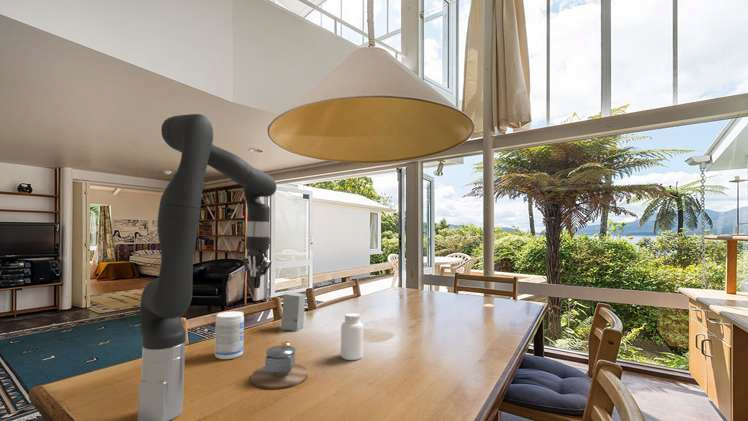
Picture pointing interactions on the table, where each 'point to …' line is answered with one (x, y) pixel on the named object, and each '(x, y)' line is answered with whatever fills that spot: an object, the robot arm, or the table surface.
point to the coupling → (280, 358)
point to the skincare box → (293, 311)
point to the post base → (279, 378)
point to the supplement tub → (229, 335)
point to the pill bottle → (352, 337)
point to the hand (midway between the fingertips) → (255, 287)
